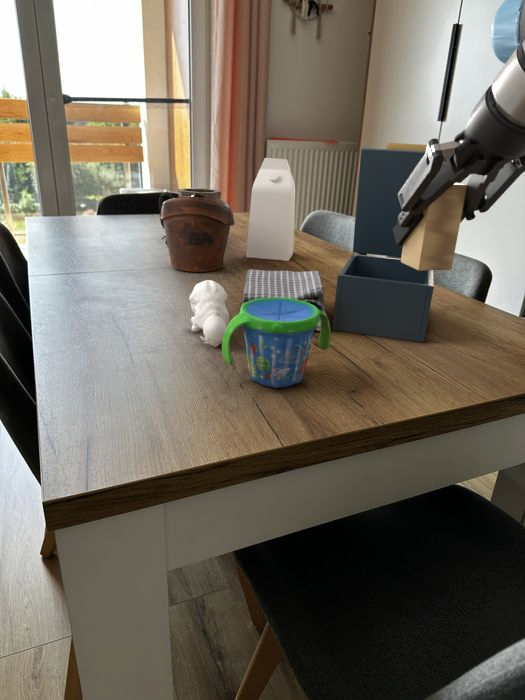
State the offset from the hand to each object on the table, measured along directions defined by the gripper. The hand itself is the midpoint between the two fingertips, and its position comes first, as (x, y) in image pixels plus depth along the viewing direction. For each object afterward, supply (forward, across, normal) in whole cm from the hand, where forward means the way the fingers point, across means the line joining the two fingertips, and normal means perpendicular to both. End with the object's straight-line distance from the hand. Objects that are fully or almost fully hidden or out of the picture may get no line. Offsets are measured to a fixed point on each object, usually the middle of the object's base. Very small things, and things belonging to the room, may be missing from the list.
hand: (415, 237), depth 73 cm
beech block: (0, 0, -5) cm, 5 cm away
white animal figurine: (+22, -27, -5) cm, 35 cm away
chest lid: (+16, +10, +18) cm, 26 cm away
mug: (+84, -21, +58) cm, 104 cm away
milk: (+67, -1, +40) cm, 78 cm away
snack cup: (+11, -21, -16) cm, 28 cm away
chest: (+26, +6, 0) cm, 27 cm away
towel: (+29, -12, +2) cm, 32 cm away
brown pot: (+58, -24, +31) cm, 69 cm away
